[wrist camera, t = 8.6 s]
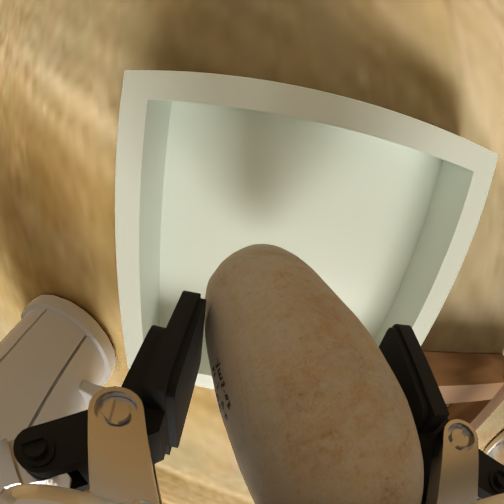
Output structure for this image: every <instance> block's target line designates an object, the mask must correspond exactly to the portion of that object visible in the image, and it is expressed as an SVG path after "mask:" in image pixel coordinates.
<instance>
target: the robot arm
mask: <svg viewBox="0 0 504 504" xmlns="http://www.w3.org/2000/svg"><path fill="white" fill-rule="evenodd" d="M205 310H206V299H202V298H201V294H200V293H195V292H190V291H185V290H184V291H183V292H182V294H181V296H180V298H179V300H178V303H177V305H176V307H175V309H174V311H173V314H172V316H171V318H170V320H169V322H168V325H167V327H166V328H165V327H160V326H156V325H152V326H151V328H150V329H149V331H148V333H147V335H146V337H145V339H144V341H143V343H142V345H141V347H140V349H139V351H138V353H137V355H136V357H135V359H134V361H133V363H132V366H131V368H130V370H129V372H128V374H127V376H126V378H125V380H124V382H123V384H122V387H116V386H114V387H107V388H104V389H102V390H99V391H98V392H97V393H96V394H94V395H93V397H92V398H91V400H90V402H89V406H88V409H87V410H84V411H81V412H78V413H75V414H72V415H69V416H65V417H62V418H59V419H56V420H52V421H49V422H46V423H42V424H39V425H35V426H31V427H28V428H26V429H24V430H22V431H21V432H20V433H19V434H18V435H17V437H16V438H15V440H12V441H8V439H7V438H5V439H1V440H0V504H162V499H161V494H160V489H159V484H158V479H157V474H156V468H155V463H157V462H159V461H162V460H163V459H164V456H165V454H168V455H170V451H171V448H172V447H176V448H178V446H179V442H180V438H181V435H182V431H183V427H184V423H185V419H186V416H187V412H188V408H189V404H190V401H191V397H192V393H193V389H194V386H195V382H196V378H197V375H198V371H199V367H200V363H201V355H202V343H203V332H204V321H205ZM379 349H380V350H381V352H382V354H383V356H384V357H385V359H386V361H387V363H388V364H389V366H390V368H391V370H392V371H393V373H394V375H395V377H396V378H397V380H398V382H399V384H400V386H401V388H402V390H403V392H404V394H405V397H406V399H407V401H408V404H409V407H410V410H411V412H412V415H413V419H414V422H415V425H416V429H417V433H418V437H419V441H420V446H421V451H422V457H423V465H424V487H423V496H422V502H421V504H504V431H503V432H502V433H501V434H499V435H498V436H497V437H496V438H495V439H494V440H493V441H492V442H491V443H490V444H489V445H488V446H487V447H486V449H485V450H484V452H483V451H481V450H480V449H478V437H477V434H476V431H475V429H474V428H473V427H472V426H471V425H470V424H469V423H467V422H466V421H463V420H460V419H454V420H451V421H449V420H448V416H449V415H450V414H449V412H448V409H447V406H446V404H445V401H444V399H443V396H442V394H441V392H440V389H439V387H438V384H437V382H436V380H435V377H434V375H433V373H432V370H431V368H430V366H429V364H428V361H427V359H426V357H425V355H424V352H423V350H422V348H421V346H420V344H419V342H418V340H417V338H416V335H415V333H414V331H413V329H412V327H411V326H409V325H402V324H394V325H393V326H392V327H390V328H388V330H387V331H386V333H385V335H384V337H383V339H382V341H381V343H380V345H379ZM88 489H90V493H86V492H83V491H85V490H88Z"/></svg>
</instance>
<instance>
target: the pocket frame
mask: <svg viewBox="0 0 504 504" xmlns="http://www.w3.org/2000/svg"><path fill="white" fill-rule="evenodd" d="M423 352H424V355H425V357H426V359H427V361H428V364H429V366H430V368H431V370H432V373H433V375H434V377H435V380H436V382H437V384H438V387H439V389H440V392H441V394H442V396H443V399H444V401H445V404H449V403H451V405H450V406H449V407H448V408H447V409H448V412H449V414H450V415H449V416H448V420H449V421H451V420H454V419H460V420H463V421H466V422H467V423H469V424H470V425H471V426H472V427H473V428H474V429H475V430H476V429H477V428H478V427H479V426H480V425H481V424H482V423H483V422H484V421H485V420H486V419H487V418H488V417H489V416H490V415H491V413H492V412H493V411H494V410H495V409H496V408H497V407H498V406H499V404H500V403H501V402H502V401H503V400H504V356H503V354H483V353H449V352H429V351H423Z"/></svg>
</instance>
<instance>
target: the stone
mask: <svg viewBox="0 0 504 504" xmlns="http://www.w3.org/2000/svg"><path fill="white" fill-rule="evenodd" d="M205 299H206V310H205V321H204V326H205V338H206V347H207V354H208V359H209V364H210V369H211V374H212V379H213V384H214V389H215V393H216V397H217V401H218V405H219V409H220V412H221V416H222V419H223V422H224V425H225V428H226V431H227V434H228V437H229V440H230V442H231V445H232V448H233V451H234V454H235V457H236V460H237V463H238V466H239V468H240V471H241V473H242V475H243V478H244V480H245V483H246V485H247V487H248V489H249V492H250V494H251V496H252V498H253V500H254V503H255V504H421V502H422V496H423V487H424V465H423V457H422V451H421V446H420V441H419V437H418V433H417V429H416V425H415V422H414V419H413V415H412V412H411V410H410V407H409V404H408V401H407V399H406V397H405V394H404V392H403V390H402V388H401V386H400V384H399V382H398V380H397V378H396V377H395V375H394V373H393V371H392V370H391V368H390V366H389V364H388V363H387V361H386V359H385V357H384V356H383V354H382V352H381V350H380V349H379V347H378V345H377V343H376V342H375V340H374V339H373V337H372V336H371V335H370V333H369V332H368V331H367V329H366V328H365V327H364V325H363V324H362V323H361V321H360V320H359V319H358V317H357V316H356V315H355V314H354V313H353V312H352V311H351V310H350V309H349V308H348V307H347V306H346V305H345V303H344V302H343V301H342V300H341V299H340V298H339V297H338V296H337V295H336V294H335V292H334V291H333V290H332V289H331V288H330V287H329V286H328V285H327V284H326V283H325V282H324V281H323V280H322V278H321V277H320V276H319V275H318V274H317V273H316V272H315V271H314V270H313V269H312V268H311V267H310V266H309V265H307V264H306V263H305V262H304V261H303V260H301V259H300V258H299V257H297V256H296V255H294V254H293V253H291V252H289V251H287V250H285V249H283V248H281V247H278V246H275V245H270V244H253V245H249V246H247V247H244V248H242V249H240V250H238V251H236V252H234V253H233V254H231V255H230V256H228V257H227V258H226V259H225V260H224V261H223V262H222V263H221V264H220V265H219V266H218V268H217V269H216V270H215V272H214V273H213V274H212V276H211V277H210V279H209V281H208V284H207V288H206V295H205Z"/></svg>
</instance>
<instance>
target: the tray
mask: <svg viewBox="0 0 504 504" xmlns="http://www.w3.org/2000/svg"><path fill="white" fill-rule="evenodd" d="M497 159H498V154H496V153H494V152H492V151H490V150H488V149H486V148H484V147H482V146H480V145H478V144H475V143H473V142H471V141H469V140H467V139H465V138H462V137H460V136H458V135H455V134H453V133H451V132H448V131H446V130H444V129H441V128H439V127H436V126H434V125H431V124H429V123H426V122H423V121H421V120H418V119H415V118H412V117H410V116H407V115H404V114H401V113H398V112H395V111H392V110H389V109H386V108H383V107H379V106H376V105H373V104H370V103H366V102H363V101H359V100H356V99H352V98H348V97H344V96H341V95H337V94H333V93H328V92H324V91H320V90H315V89H311V88H306V87H301V86H296V85H291V84H286V83H280V82H275V81H268V80H262V79H255V78H248V77H241V76H233V75H224V74H214V73H202V72H187V71H166V70H125V71H124V78H123V85H122V94H121V102H120V112H119V123H118V136H117V151H116V174H115V239H116V262H117V278H118V291H119V302H120V312H121V322H122V330H123V338H124V345H125V352H126V359H127V366H128V369H130V368H131V366H132V363H133V361H134V359H135V357H136V355H137V353H138V351H139V349H140V347H141V345H142V343H143V341H144V339H145V337H146V335H147V333H148V331H149V329H150V328H151V326H152V325H156V326H160V327H165V328H166V327H167V325H168V322H169V320H170V318H171V316H172V314H173V311H174V309H175V307H176V305H177V303H178V300H179V298H180V296H181V294H182V292H183V291H184V290H185V291H190V292H195V293H200V294H201V298H202V299H205V295H206V288H207V284H208V281H209V279H210V277H211V276H212V274H213V273H214V272H215V270H216V269H217V268H218V266H219V265H220V264H221V263H222V262H223V261H224V260H225V259H226V258H227V257H228V256H230V255H231V254H233V253H234V252H236V251H238V250H240V249H242V248H244V247H247V246H249V245H253V244H270V245H275V246H278V247H281V248H283V249H285V250H287V251H289V252H291V253H293V254H294V255H296V256H297V257H299V258H300V259H301V260H303V261H304V262H305V263H306V264H307V265H309V266H310V267H311V268H312V269H313V270H314V271H315V272H316V273H317V274H318V275H319V276H320V277H321V278H322V280H323V281H324V282H325V283H326V284H327V285H328V286H329V287H330V288H331V289H332V290H333V291H334V292H335V294H336V295H337V296H338V297H339V298H340V299H341V300H342V301H343V302H344V303H345V305H346V306H347V307H348V308H349V309H350V310H351V311H352V312H353V313H354V314H355V315H356V316H357V317H358V319H359V320H360V321H361V323H362V324H363V325H364V327H365V328H366V329H367V331H368V332H369V333H370V335H371V336H372V337H373V339H374V340H375V342H376V343H377V345H378V347H379V345H380V343H381V341H382V339H383V337H384V335H385V333H386V331H387V330H388V328H390V327H392V326H393V325H394V324H402V325H409V326H411V327H412V329H413V331H414V333H415V335H416V338H417V340H418V342H419V344H420V346H421V345H422V343H423V342H424V340H425V338H426V336H427V335H428V333H429V331H430V329H431V327H432V325H433V324H434V322H435V320H436V318H437V316H438V314H439V312H440V310H441V308H442V306H443V304H444V302H445V300H446V298H447V296H448V294H449V292H450V290H451V288H452V286H453V284H454V281H455V279H456V277H457V275H458V273H459V270H460V268H461V266H462V263H463V261H464V259H465V256H466V254H467V251H468V249H469V246H470V244H471V241H472V239H473V236H474V233H475V231H476V228H477V225H478V222H479V219H480V216H481V214H482V211H483V208H484V204H485V201H486V198H487V195H488V192H489V188H490V185H491V181H492V178H493V174H494V170H495V167H496V163H497ZM195 386H200V387H204V388H209V389H214V384H213V379H212V374H211V369H210V364H209V359H208V354H207V347H206V338H205V326H204V332H203V343H202V355H201V363H200V367H199V371H198V375H197V378H196V382H195Z"/></svg>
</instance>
